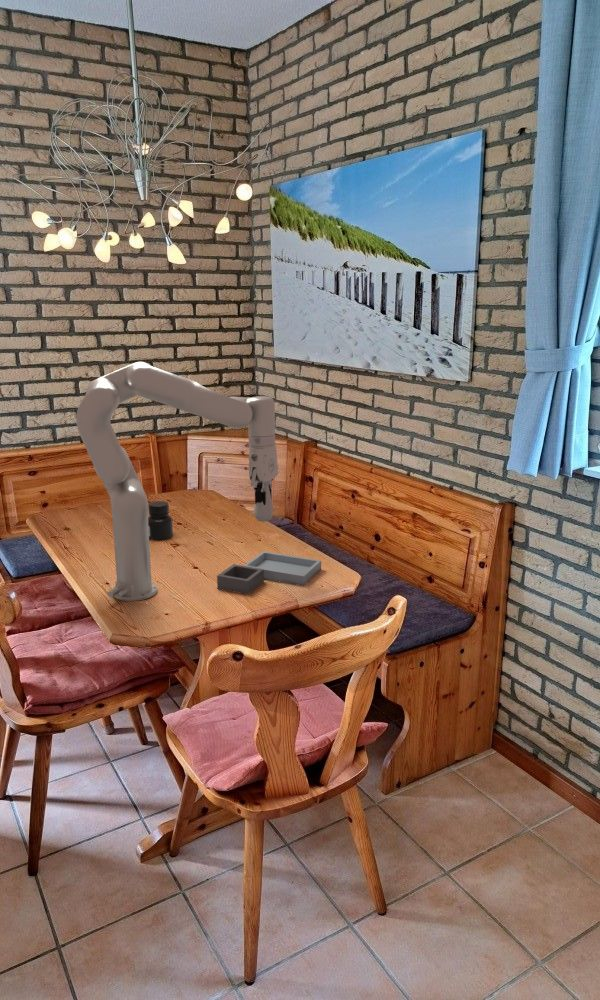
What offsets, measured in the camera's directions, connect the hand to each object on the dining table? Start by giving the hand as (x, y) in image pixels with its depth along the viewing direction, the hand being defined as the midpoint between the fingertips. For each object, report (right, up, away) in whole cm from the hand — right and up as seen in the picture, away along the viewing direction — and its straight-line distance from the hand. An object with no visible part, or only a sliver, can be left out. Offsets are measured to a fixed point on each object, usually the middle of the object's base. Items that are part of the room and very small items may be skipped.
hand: (263, 502), depth 206 cm
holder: (-7, -24, +2) cm, 25 cm away
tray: (+5, -22, +11) cm, 25 cm away
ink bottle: (-38, -12, +43) cm, 59 cm away
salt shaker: (0, -5, +1) cm, 5 cm away
